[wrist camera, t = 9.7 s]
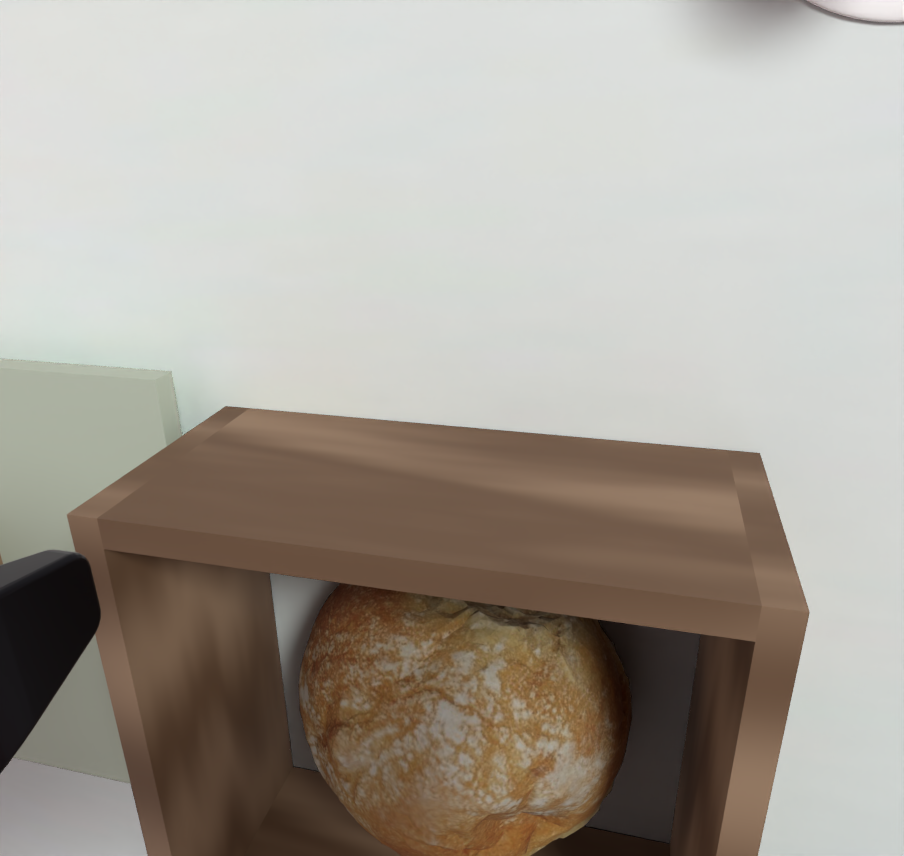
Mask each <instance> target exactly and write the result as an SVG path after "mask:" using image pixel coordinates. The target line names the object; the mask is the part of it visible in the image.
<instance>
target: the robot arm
mask: <svg viewBox="0 0 904 856" xmlns="http://www.w3.org/2000/svg"><path fill="white" fill-rule="evenodd" d="M100 619H101V608H100V604H99V599H98V595H97V591H96V587H95V583H94V578H93V574H92V570H91V566H90V563H89V561H88V560H87V558H86V557H85V556H84V555H82V554H80V553H77V552H70V551H63V550H55V549H53V550H46V551H42V552H39V553H36V554H33V555H30V556H27V557H24V558H21V559H18V560H14V561H11V562H8V563H5V564H2V565H0V774H1V772H2V771H3V770H4V768H5V767H6V766H7V765H8V763H9V762H10V761H11V759H12V758H13V757H14V755H15V754H16V753H17V751H18V750H19V749H20V747H21V746H22V745H23V743H24V742H25V740H26V739H27V737H28V736H29V734H30V733H31V731H32V730H33V728H34V727H35V725H36V724H37V722H38V721H39V719H40V718H41V716H42V715H43V713H44V712H45V710H46V709H47V707H48V706H49V704H50V702H51V701H52V699H53V698H54V696H55V695H56V693H57V692H58V690H59V689H60V687H61V686H62V684H63V682H64V681H65V679H66V678H67V676H68V675H69V673H70V672H71V670H72V669H73V667H74V666H75V664H76V663H77V661H78V659H79V658H80V656H81V655H82V653H83V652H84V650H85V649H86V647H87V646H88V644H89V643H90V641H91V639H92V638H93V636H94V635H95V633H96V631H97V629H98V627H99V624H100Z"/></svg>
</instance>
